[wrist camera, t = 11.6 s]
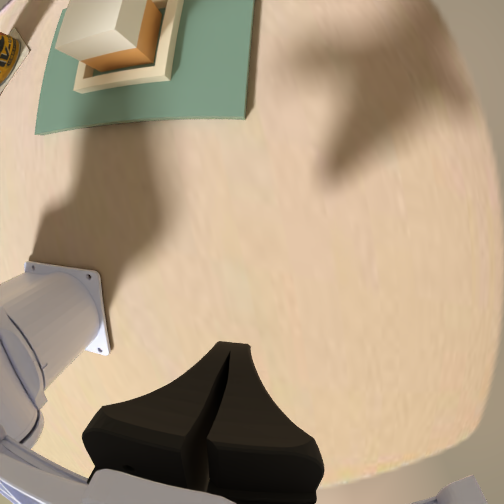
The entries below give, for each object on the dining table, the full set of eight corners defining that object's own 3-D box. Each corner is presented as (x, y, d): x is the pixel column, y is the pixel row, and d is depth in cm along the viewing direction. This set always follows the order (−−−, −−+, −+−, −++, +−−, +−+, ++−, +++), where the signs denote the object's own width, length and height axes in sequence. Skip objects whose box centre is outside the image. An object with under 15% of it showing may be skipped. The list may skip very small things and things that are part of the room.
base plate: (41, 135, 19) (25, 133, 17) (68, 13, 16) (56, 5, 14) (245, 119, 18) (241, 112, 16) (256, -22, 15) (255, -37, 13)
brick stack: (101, 72, 17) (54, 48, 11) (111, 25, 16) (72, -6, 10) (153, 62, 17) (114, 29, 11) (162, 14, 15) (131, -26, 10)
